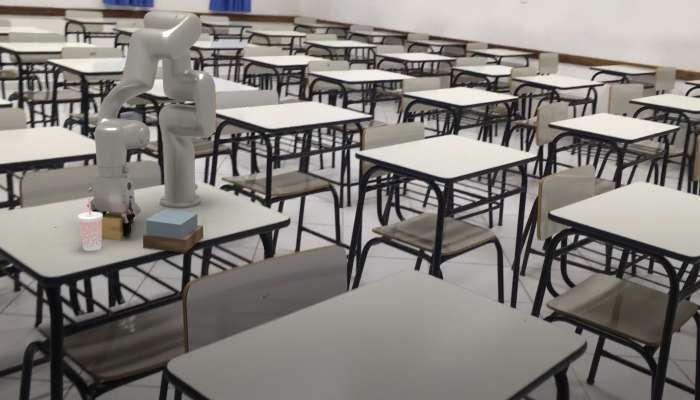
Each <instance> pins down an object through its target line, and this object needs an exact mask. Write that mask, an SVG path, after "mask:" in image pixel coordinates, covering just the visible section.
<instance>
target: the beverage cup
mask: <svg viewBox="0 0 700 400" xmlns="http://www.w3.org/2000/svg"><path fill="white" fill-rule="evenodd" d="M87 198H88V199H87V200H88V201H87V202H88V203H89V208H88V211H86V212H82V213H79V214H78V215H77V219H78V221H79V228H80V236H81V242H82V249H83V250H84V251H86V252H92V251H93V252H94V251H98V250H101V248H103V247H102V246H103V245H102V244H103V243H102V240H103V239H102V218H103V214H102V213H99V212H92V211H91V204H90V201H91V196H88V197H87ZM88 203H87V204H88Z"/></svg>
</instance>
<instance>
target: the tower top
mask: <svg viewBox="0 0 700 400" xmlns="http://www.w3.org/2000/svg"><path fill="white" fill-rule="evenodd" d="M198 221H199V220H198V213H197V212H196V213H194V212H188V211H179V210H171V209H165V208H164V209H163V210H161V211H159V212H157V213H155V214H154V215H151V216H150V217H148V218H147V219H146V220H145V233H146V234H147V235H154V236H161V237H169V238H176V239H182V238H183V237H185V236H186V235H188V234H189V233H190V232H192V231H193V230H195V229H196V228H197V227H198V225H199V224H198Z"/></svg>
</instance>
